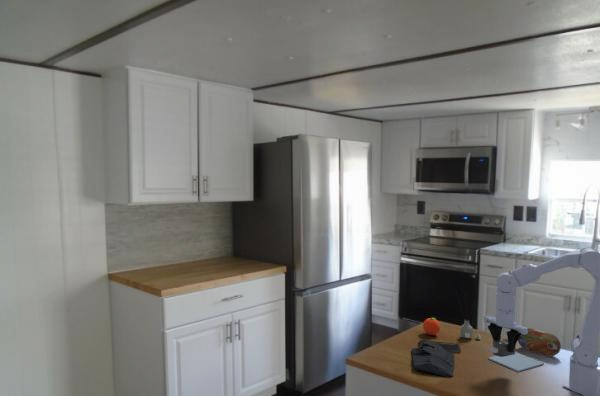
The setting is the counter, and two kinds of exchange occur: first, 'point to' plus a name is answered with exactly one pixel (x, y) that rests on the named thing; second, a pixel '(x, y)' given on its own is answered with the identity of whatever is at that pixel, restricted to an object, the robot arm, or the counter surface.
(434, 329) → the clementine
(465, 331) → the reed diffuser
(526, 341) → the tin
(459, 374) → the counter surface
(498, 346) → the connector
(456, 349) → the phone
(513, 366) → the rubber mat
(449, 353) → the dark slate chunk
